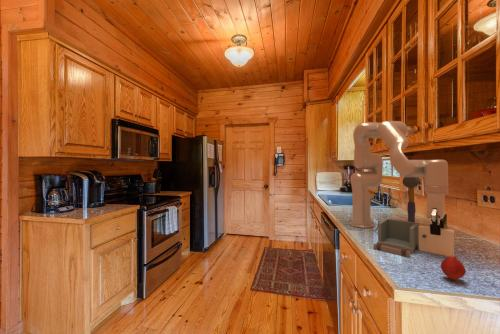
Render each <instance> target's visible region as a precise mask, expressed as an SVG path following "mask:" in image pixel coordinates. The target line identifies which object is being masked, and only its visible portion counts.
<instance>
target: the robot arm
mask: <svg viewBox="0 0 500 334" xmlns="http://www.w3.org/2000/svg"><path fill="white" fill-rule="evenodd" d="M408 130H409V129H408V126H407V124H406V123H405V122H403V121H397V120H384V121H382V122H373V121H372V122H371V121H369V122H362V123H359V124H357V125H356V126H355V128H354V130H353V135H352V136H353V145H354V153H353V157H354V158H353V165H354V168H356V169H357V170H368V171H356V172H353V173H352V174H351V176H350V185H351V191H352V197H351V198H352V220H351V221H350V222H349V225H351V226H352V227H354V228H355V227H356V228H361V229H362V228H364V229H371V228H374V226H375V224H374V223H373V222H371V220H372V217H371V194H370V192H369V190H368V188H377V187H380V185H381V184H382V181H383V168H384V167H383V164H384V162H383V158H382V156H381V154H379V153H376V152H372V151H371V149H372V148H371V147H372V145H371V142H370V141H369V138H370V139H381V141H383V142H384V143H385V145H386V146H387V147H388V149H389V150H390V152H389V160H390V161H389V162H390V164H391V165H392V167H393V168H394V169H395V171H396V172H397V173H398V174H399V175H400V176H401V177H403V178H404V177H419V178H424V194H427V195H426V196H427V197H426V218H427V219H429V218H430V221H429V222H430V223H429V227H430V234H433V235H439V236H440V235H441V228H442V229H444V221H442V220H443V217H444V215H445V214H446V211H445V210H446V199H445V197H446V195H449V164H448V161H447V160H445V159H409V158H408V157H407V156H406V155H405V154H404V152H403V150H405V149H406V148H407V147H408V146H409V143H410V141H409V139H408V138H407V136H406V135H407V134H408Z"/></svg>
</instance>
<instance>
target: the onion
mask: <svg viewBox="0 0 500 334" xmlns="http://www.w3.org/2000/svg"><path fill="white" fill-rule="evenodd" d="M440 269H441V271H442V273H444V275H445V276H446V277H448V278H449V279H450V280H452V281H457V280H459V279H461V278H463V277H464V276H465V274H466V272H467V270H466V267H465V264H463V263H462V261H460V260H459V258H457V256H456V255H455V254H454V255H452V256H450V257H449V256H446V258H444V259H443V260H442V261H441V263H440Z"/></svg>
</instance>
